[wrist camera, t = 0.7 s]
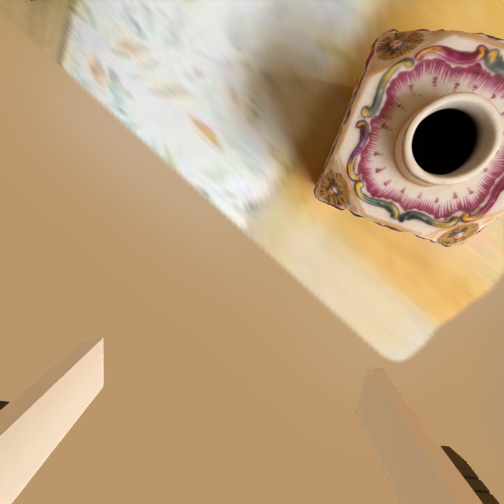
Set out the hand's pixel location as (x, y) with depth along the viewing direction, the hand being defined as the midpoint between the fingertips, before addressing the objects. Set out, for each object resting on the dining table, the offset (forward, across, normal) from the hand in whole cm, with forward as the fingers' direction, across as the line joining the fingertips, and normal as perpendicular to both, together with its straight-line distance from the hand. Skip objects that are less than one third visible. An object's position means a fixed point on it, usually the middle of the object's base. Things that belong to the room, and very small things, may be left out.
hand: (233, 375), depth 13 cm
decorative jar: (+21, +14, +15) cm, 30 cm away
